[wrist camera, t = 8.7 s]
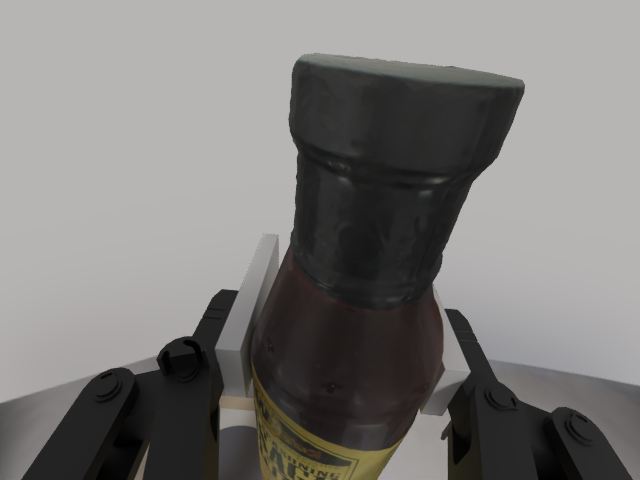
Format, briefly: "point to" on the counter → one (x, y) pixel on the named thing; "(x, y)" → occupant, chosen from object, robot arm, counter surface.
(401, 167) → the sauce bottle
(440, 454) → the counter surface
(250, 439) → the wooden picture frame
